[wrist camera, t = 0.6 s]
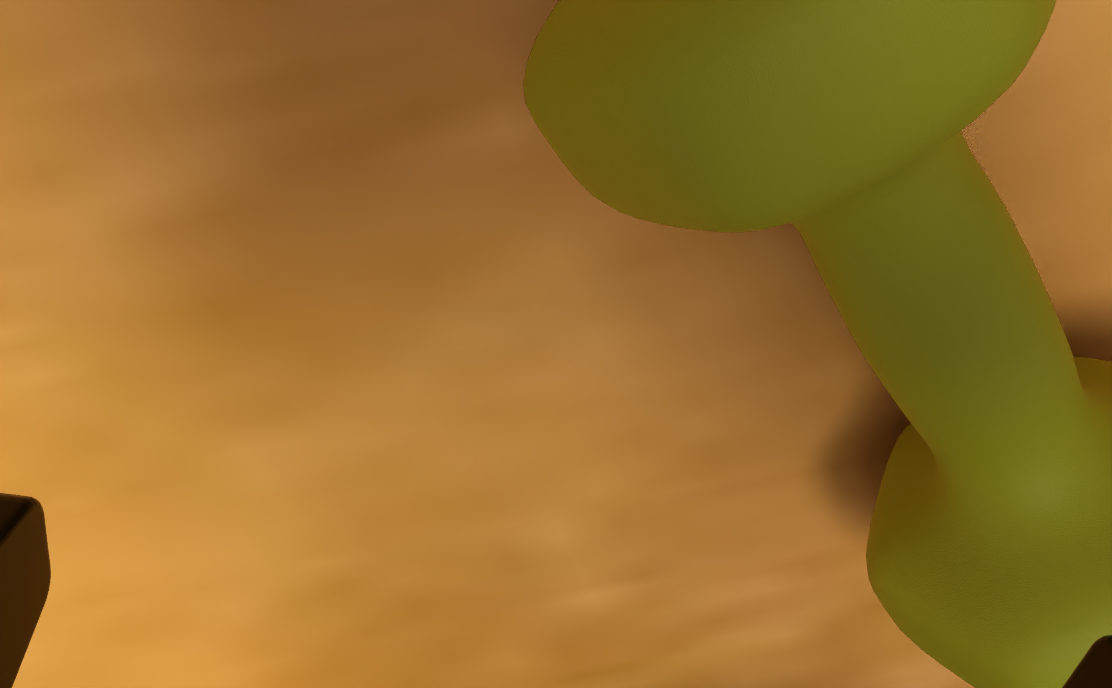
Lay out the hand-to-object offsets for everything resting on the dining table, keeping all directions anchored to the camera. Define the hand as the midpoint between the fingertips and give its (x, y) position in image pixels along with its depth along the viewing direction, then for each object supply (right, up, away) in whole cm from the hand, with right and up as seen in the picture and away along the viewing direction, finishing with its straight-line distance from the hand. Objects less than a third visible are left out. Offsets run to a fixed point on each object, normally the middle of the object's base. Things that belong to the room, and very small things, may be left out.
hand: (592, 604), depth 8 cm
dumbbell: (+6, +5, +12) cm, 14 cm away
